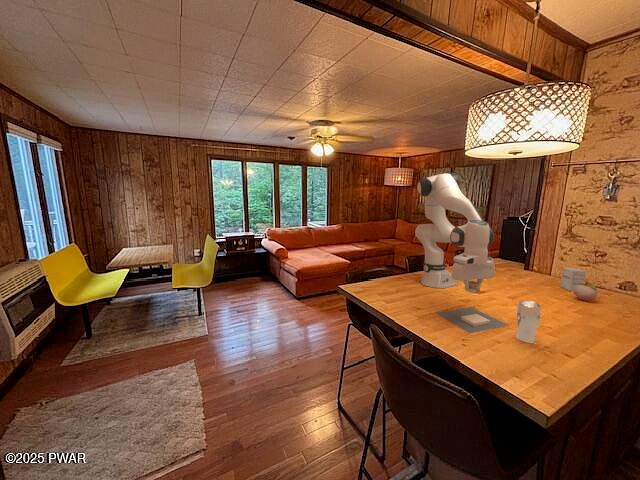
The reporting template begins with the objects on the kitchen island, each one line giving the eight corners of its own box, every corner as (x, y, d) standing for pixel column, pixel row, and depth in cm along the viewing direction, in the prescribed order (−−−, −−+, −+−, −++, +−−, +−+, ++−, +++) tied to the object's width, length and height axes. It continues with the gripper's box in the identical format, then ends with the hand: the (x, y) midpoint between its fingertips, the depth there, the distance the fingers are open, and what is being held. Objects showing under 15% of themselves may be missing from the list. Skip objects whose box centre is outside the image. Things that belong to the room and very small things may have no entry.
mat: (470, 308, 131) (470, 307, 131) (509, 326, 112) (509, 325, 112) (434, 314, 125) (434, 312, 125) (469, 334, 106) (469, 333, 106)
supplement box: (559, 286, 162) (562, 267, 160) (573, 287, 161) (576, 267, 159) (569, 291, 155) (572, 270, 153) (583, 291, 153) (586, 270, 151)
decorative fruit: (598, 301, 138) (601, 283, 137) (593, 305, 134) (596, 286, 132) (574, 296, 146) (577, 279, 145) (569, 299, 142) (572, 281, 140)
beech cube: (472, 289, 117) (472, 280, 116) (479, 292, 113) (480, 283, 112) (464, 290, 116) (465, 281, 115) (472, 293, 112) (473, 284, 111)
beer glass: (511, 334, 106) (515, 299, 104) (532, 337, 103) (537, 301, 101) (517, 342, 100) (521, 306, 97) (539, 346, 97) (544, 308, 95)
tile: (476, 313, 120) (461, 316, 117) (490, 320, 113) (474, 323, 111) (476, 317, 120) (460, 319, 118) (489, 323, 114) (473, 326, 111)
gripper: (487, 255, 118) (484, 284, 120) (450, 257, 112) (448, 288, 114) (500, 258, 112) (497, 288, 114) (462, 260, 106) (459, 293, 108)
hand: (472, 288), depth 114 cm, fingers closed on beech cube, 4 cm apart
